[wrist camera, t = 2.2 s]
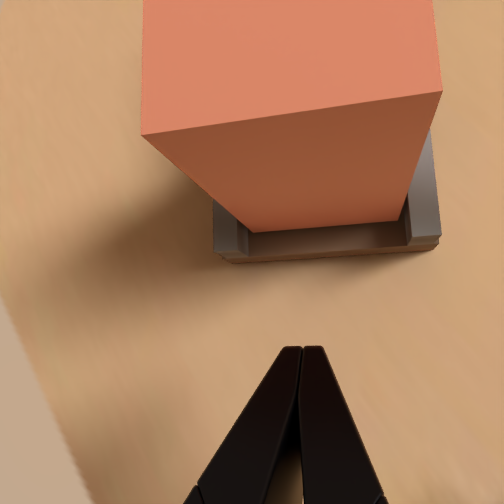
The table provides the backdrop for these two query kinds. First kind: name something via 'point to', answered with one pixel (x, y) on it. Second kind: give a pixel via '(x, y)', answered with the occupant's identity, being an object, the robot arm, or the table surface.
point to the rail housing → (340, 229)
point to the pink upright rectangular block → (292, 103)
